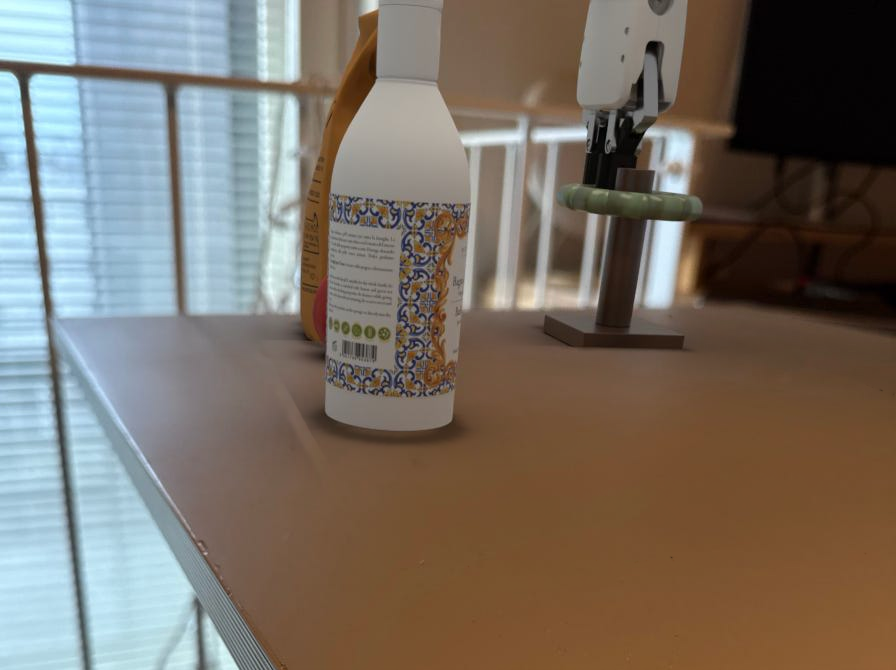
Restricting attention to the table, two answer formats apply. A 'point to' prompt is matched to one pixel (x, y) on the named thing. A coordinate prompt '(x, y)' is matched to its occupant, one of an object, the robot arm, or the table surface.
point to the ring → (630, 203)
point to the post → (618, 287)
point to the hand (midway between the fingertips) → (604, 204)
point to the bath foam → (398, 238)
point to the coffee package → (339, 118)
